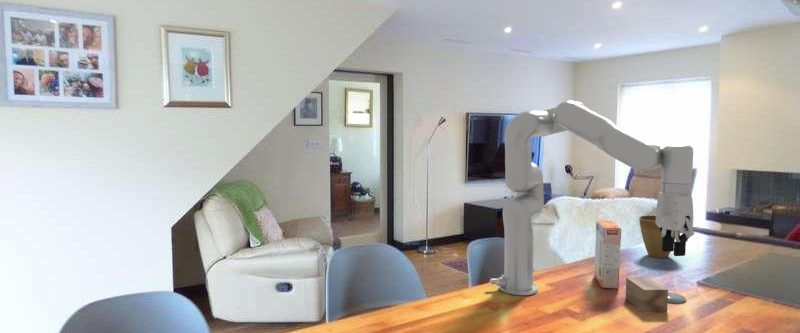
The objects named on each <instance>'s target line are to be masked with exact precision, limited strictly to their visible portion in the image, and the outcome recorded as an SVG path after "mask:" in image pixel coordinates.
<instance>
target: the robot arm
mask: <svg viewBox="0 0 800 333" xmlns="http://www.w3.org/2000/svg"><path fill="white" fill-rule="evenodd" d="M566 131H568V132H570V133H572V134H573V135H576V136H577V137H580V138H581V139H583V140H585V141H586V142H589V143H590V144H592V145H594V146H595V147H597V148H598V149H600V150H601V151H603V152H604V153H605V154H607V155H609V156H610V157H611V158H614V159H615V160H617V161H619V162H621V163H622V164H624V165H626V166H627V167H629V168H632V169H633V170H636V171H639V172H648V171H652V170H654V169H661V177H660V178H661V181H660V184H661V185H660V192H659V194H658V198H657V202H656V208H655V209H656V210H655V216H656V225H657V226H658V227H659V228H660V231H661V236H662V237H663V239H662V251H663V252H670V251H671V252H673V256H674V257H685V256H686V249H687V248H686V245H687V242H688V240H689V239H690V238H691V237H692V236H694V235H695V231H694V229H693V227H694V204H693V202H694V201H693V197H692V193H693V192H692V186H693V185H692V184H693V170H694V169H693V168H694V167H693V164H694V148H693V146H691V145H689V144H666V145H665V144H661V143H660V144H659V143H650V142H646V143H645V142H642V141H640V140H639V139H636V138H634V137H632V136H631V135H629V134H627V133H625V132H624V131H623V130H621V129H619V128H618V127H617V125H616V124H615V122H613V121H612V120H610V119H608V117H607V118H606V117H605V116H603V115H601V114H598V113H596V112H595V111H594V110H593V111H592V110H591V109H589V108H588V107H587V106H586V105H585V104H584V103H582V102H580V101H577V100H576V101H575V100H564V101H561V102H559V104H558V105H556V107H553V108H548V109H544V110H526V111H523V112H520V113H518V114H516V115H515V116H513V117H512V118H511V119H510V121H509V122H508V124H507V126H506V128H505V132H504V167H505V172H504V175H505V176H504V177H505V184H506V187H507V188H508V189H509V191H511V192H514V193H516V196H513V197H511V198H509V199H508V200H507V201H506V202H505V203H504V205H503V207H502V220H503V221H502V222H503V228H504V230H503V232H504V265H503V266H504V268H503V270H504V271H503V273H504V274H501V276H500V277H498V278H494V277H493V278H490V279H489V283H490V285H496V286H497V287H499V290H501V291H502V292H503V293H505V294H508V295H514V296H531V295H535V294H537V292H538V291H539V288H538V285H536V284H535V283H534V266H535V265H534V264H535V263H534V254H535V253H534V252H535V251H534V250H535V245H534V244H535V243H534V242H535V235H534V228H533V221H535V220H537V219H538V218H539V217H541V216H542V214H543V211H544V207H545V206H544V205H545V203H544V201H545V200H544V196H545V195H544V175H543V173H542V170H541V168H540V167H539V166H538V165H537V164H536V163H534V162H533V161H532V147H531V146H532V145H531V143H530V142H531V139H532V138H540V137H541V138H542V137H546V136H550V135H555V134H560V133H563V132H566ZM673 231H675V237H676V238H675V241H674V237H672V236H673ZM671 252H670V253H671Z"/></svg>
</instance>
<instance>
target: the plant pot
mask: <svg viewBox="0 0 800 333" xmlns="http://www.w3.org/2000/svg"><path fill="white" fill-rule="evenodd" d="M638 218H639V225H640V232H641V236H642V240H643V244H644V246H645V250H646V252H647V254H648V257H652V258H657V259H666V258H668V257H669V256H670V254H671V252H672V251H670V252H663V251H662V239H663V237H662V236H661V231H660V228H659V227H658V226H657V225H656V214H655V215H654V214H653V215H651V214H650V215H641V216H639V217H638ZM672 237H674V242H676V237H675V231H673V236H672Z"/></svg>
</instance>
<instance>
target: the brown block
mask: <svg viewBox="0 0 800 333" xmlns="http://www.w3.org/2000/svg"><path fill="white" fill-rule="evenodd" d="M625 279H626V280H625V300H627V301H628V302H630V303H631V304H632V305H634V306H635V307H636V308H637V309H638V310H639V311H641V312H642V313H668V304H669V303H668V292H669V289H667V288H666V287H665V286H663V285H661V284H660V283H658V282H656V280H653V279H652V278H650V277H648V276H647V277H646V276H645V277H642V276H641V277H638V276H637V277H636V276H635V277H634V276H633V277H632V276H631V277H628V276H627V277H626V278H625Z"/></svg>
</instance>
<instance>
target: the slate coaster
mask: <svg viewBox="0 0 800 333" xmlns="http://www.w3.org/2000/svg"><path fill="white" fill-rule="evenodd" d="M686 301H687V298H686V297H685V296H684V295H681V294H679V293H676V292H670V291H668V304H684V303H685V302H686Z"/></svg>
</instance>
